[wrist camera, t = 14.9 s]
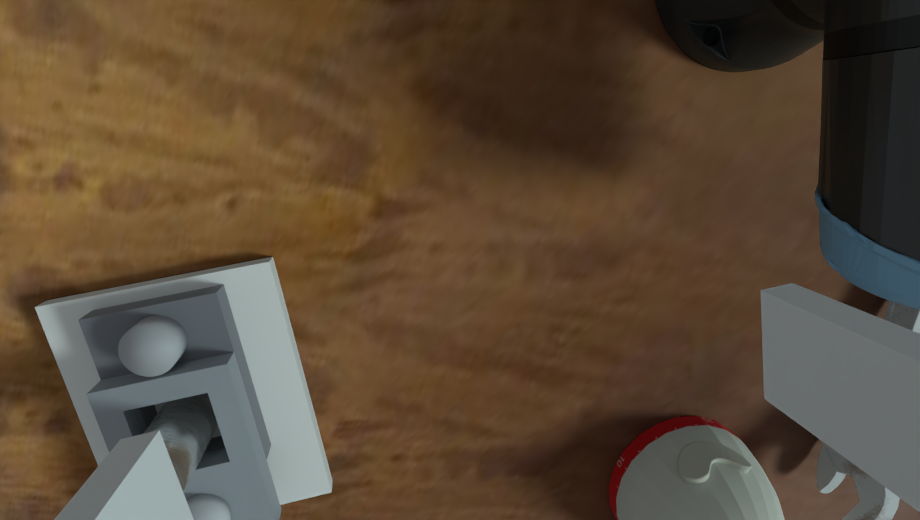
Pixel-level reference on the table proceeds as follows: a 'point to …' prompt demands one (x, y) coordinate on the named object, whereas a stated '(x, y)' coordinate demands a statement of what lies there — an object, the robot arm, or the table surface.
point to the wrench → (875, 499)
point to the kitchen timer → (690, 476)
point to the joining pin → (185, 432)
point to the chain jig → (198, 380)
